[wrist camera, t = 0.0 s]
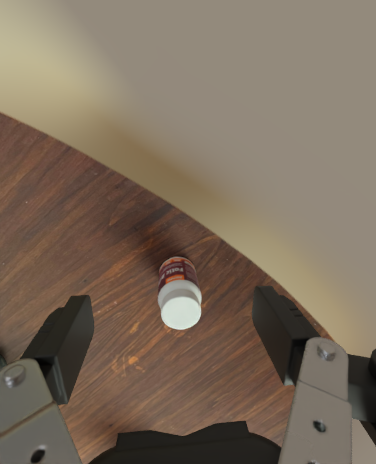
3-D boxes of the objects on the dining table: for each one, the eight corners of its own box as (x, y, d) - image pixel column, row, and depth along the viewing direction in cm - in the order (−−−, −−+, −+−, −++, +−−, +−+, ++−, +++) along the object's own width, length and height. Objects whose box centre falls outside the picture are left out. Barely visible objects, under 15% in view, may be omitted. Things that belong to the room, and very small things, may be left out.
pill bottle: (178, 248, 31) (183, 284, 23) (202, 272, 33) (214, 313, 25) (151, 271, 32) (146, 313, 24) (175, 294, 33) (179, 340, 26)
